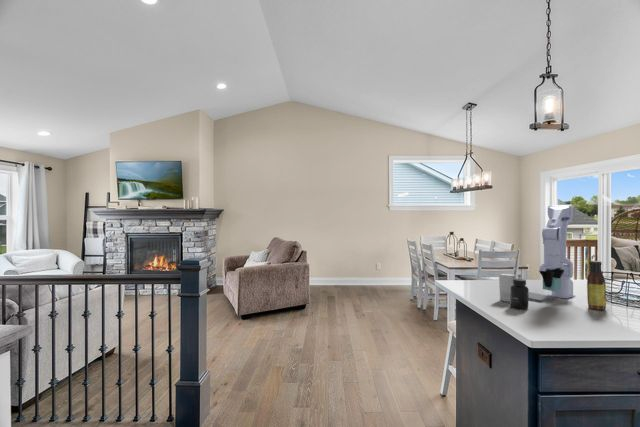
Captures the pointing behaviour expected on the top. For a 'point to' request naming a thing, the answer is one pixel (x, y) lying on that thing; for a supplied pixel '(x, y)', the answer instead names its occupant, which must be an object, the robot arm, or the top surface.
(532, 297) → the rubber mat
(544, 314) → the top surface
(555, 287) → the teal cube
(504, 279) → the skincare box
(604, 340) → the top surface
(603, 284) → the sauce bottle
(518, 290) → the supplement bottle
